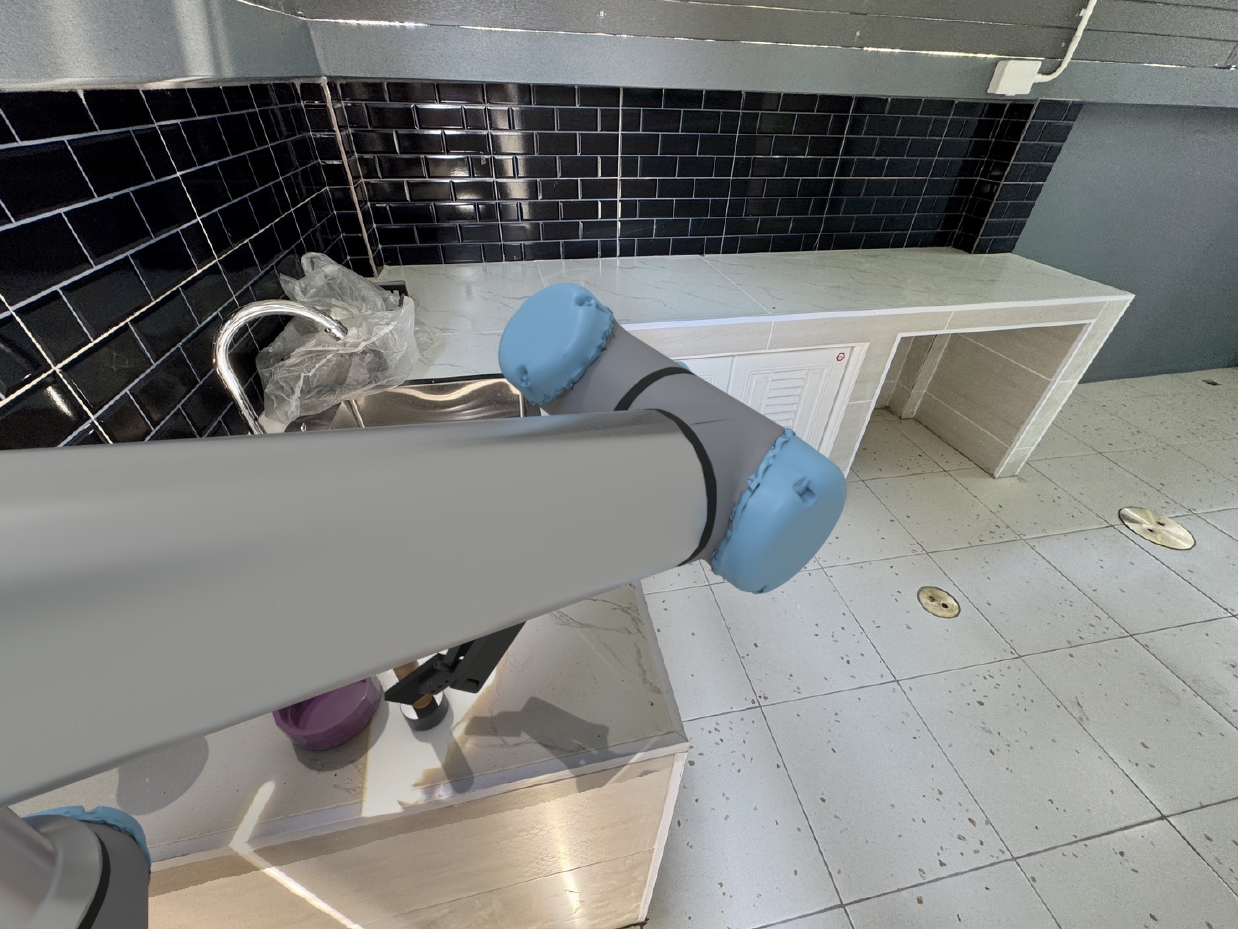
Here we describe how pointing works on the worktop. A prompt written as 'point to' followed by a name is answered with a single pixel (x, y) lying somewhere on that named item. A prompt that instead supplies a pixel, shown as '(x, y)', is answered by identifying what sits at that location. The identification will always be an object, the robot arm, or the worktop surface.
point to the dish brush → (422, 704)
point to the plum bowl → (330, 715)
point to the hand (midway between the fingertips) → (397, 630)
